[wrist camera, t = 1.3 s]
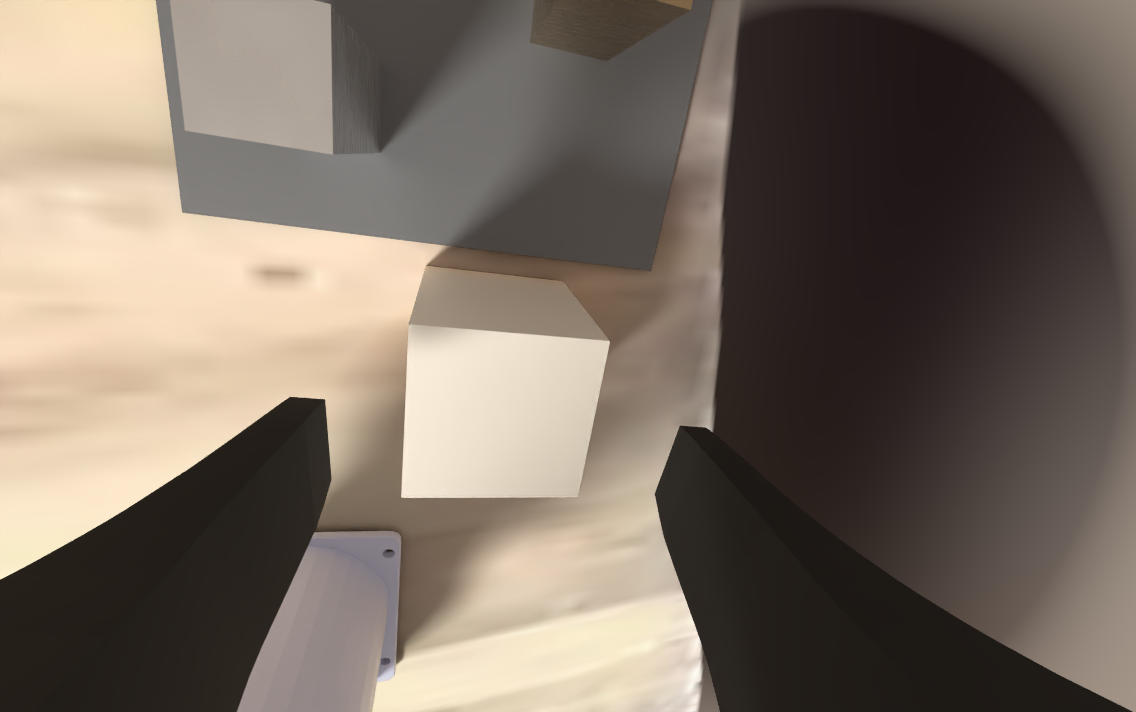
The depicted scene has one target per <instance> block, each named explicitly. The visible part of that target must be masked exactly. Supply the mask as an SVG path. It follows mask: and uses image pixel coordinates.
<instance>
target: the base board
mask: <svg viewBox="0 0 1136 712" xmlns="http://www.w3.org/2000/svg"><path fill="white" fill-rule="evenodd" d="M315 1H319V2H323V3H328V4H331V5H332V6H333V7H334V8H335V10H336V11H337V12H338V13H339V14H340V15H341V16H342V18H343V19H344V20H345V21H346V22H347V23H348V24H349V25H350V27H351V28H352V29H353V30H354V31H355V32H356V33H357V35H358V36H359V37H360V38H361V39H362V40H363V41H364V42H365V44H366V45H367V46H368V47H369V48H370V49H371V50H372V52H373V53H374V54H375V55H376V56H377V57H378V58H379V60H380V61H381V62H382V69H381V123H380V153H368V154H335V155H333V154H326V153H320V152H314V151H308V150H302V149H295V148H289V147H283V146H277V145H271V144H265V143H258V142H252V141H246V140H240V139H234V138H227V137H221V136H215V135H209V134H203V133H197V132H190V131H185V127H184V118H183V110H182V101H181V92H180V84H179V75H178V67H177V58H176V49H175V41H174V32H173V23H172V15H171V6H170V0H156V5H157V13H158V21H159V29H160V37H161V45H162V53H163V61H164V69H165V77H166V85H167V93H168V101H169V109H170V117H171V125H172V133H173V141H174V149H175V157H176V165H177V173H178V181H179V189H180V197H181V205H182V212H183V213H191V214H199V215H207V216H215V217H223V218H231V219H239V220H247V221H255V222H263V223H271V224H279V225H287V226H295V227H302V228H310V229H318V230H326V231H334V232H342V233H350V234H358V235H366V236H374V237H382V238H390V239H398V240H406V241H414V242H422V243H430V244H438V245H446V246H454V247H462V248H470V249H478V250H486V251H494V252H502V253H510V254H518V255H526V256H534V257H542V258H550V259H558V260H566V261H574V262H582V263H590V264H598V265H606V266H614V267H622V268H630V269H638V270H646V271H651V270H652V265H653V261H654V256H655V252H656V248H657V243H658V239H659V234H660V230H661V225H662V221H663V217H664V212H665V208H666V203H667V199H668V195H669V190H670V186H671V181H672V177H673V172H674V168H675V164H676V159H677V155H678V150H679V146H680V141H681V137H682V133H683V128H684V124H685V119H686V115H687V111H688V106H689V102H690V97H691V93H692V88H693V84H694V80H695V75H696V71H697V66H698V62H699V57H700V53H701V49H702V44H703V40H704V35H705V31H706V27H707V22H708V18H709V13H710V9H711V4H712V0H693V3H692V7H691V10H690V11H689V12H687V13H685V14H684V15H682V16H680V17H679V18H677V19H675V20H674V21H672V22H670V23H669V24H667V25H666V26H664V27H662V28H661V29H659V30H657V31H656V32H654V33H652V34H651V35H649V36H647V37H646V38H644V39H643V40H641V41H639V42H638V43H636V44H634V45H633V46H631V47H629V48H628V49H626V50H624V51H623V52H621V53H620V54H618V55H616V56H615V57H613V58H611V59H610V60H608V61H604V60H600V59H596V58H592V57H588V56H583V55H579V54H575V53H571V52H566V51H562V50H558V49H554V48H550V47H545V46H541V45H537V44H533V43H530V35H531V27H532V18H533V9H534V0H315Z"/></svg>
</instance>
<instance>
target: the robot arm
mask: <svg viewBox="0 0 1136 712" xmlns="http://www.w3.org/2000/svg"><path fill="white" fill-rule="evenodd" d="M330 482H331V468H330V456H329V443H328V431H327V418H326V406H325V399H311V398H298V397H289V398H288V399H286V400H285V401H284V402H282V403H281V404H279V405H278V406H276V407H275V408H274V409H272V410H271V411H270V412H268V413H267V414H265V415H264V416H263V417H261V418H260V419H258V420H257V421H256V422H254V423H253V424H252V425H250V426H249V427H247V428H246V429H245V430H243V431H242V432H241V433H239V434H238V435H236V436H235V437H234V438H232V439H231V440H230V441H228V442H227V443H225V444H224V445H222V446H221V447H220V448H218V449H217V450H215V451H214V452H212V453H211V454H210V455H208V456H207V457H205V458H204V459H202V460H201V461H200V462H198V463H197V464H195V465H194V466H192V467H191V468H190V469H188V470H187V471H185V472H183V473H182V474H180V475H179V476H177V477H176V478H174V479H173V480H171V481H169V482H168V483H166V484H165V485H163V486H162V487H160V488H159V489H157V490H155V491H154V492H152V493H151V494H149V495H148V496H146V497H145V498H143V499H141V500H140V501H138V502H137V503H135V504H134V505H132V506H131V507H129V508H128V509H126V510H124V511H123V512H121V513H119V514H118V515H116V516H114V517H113V518H111V519H109V520H108V521H106V522H104V523H103V524H101V525H99V526H97V527H96V528H94V529H92V530H91V531H89V532H87V533H85V534H84V535H82V536H80V537H78V538H77V539H75V540H73V541H71V542H69V543H68V544H66V545H64V546H62V547H60V548H59V549H57V550H55V551H53V552H51V553H50V554H48V555H46V556H44V557H42V558H41V559H39V560H37V561H35V562H33V563H31V564H30V565H28V566H26V567H24V568H22V569H20V570H18V571H16V572H15V573H13V574H11V575H9V576H7V577H5V578H3V579H1V580H0V712H372V709H373V703H374V697H375V690H376V684H377V682H380V681H387V680H389V679H391V678H392V677H393V676H394V675H395V669H396V650H397V628H398V606H399V584H400V562H401V540H402V539H401V536H400V534H399V533H397V532H395V531H352V532H315V530H316V527H317V524H318V521H319V518H320V515H321V512H322V509H323V505H324V502H325V499H326V496H327V492H328V489H329V486H330ZM655 497H656V502H657V507H658V512H659V517H660V522H661V526H662V530H663V535H664V539H665V542H666V545H667V548H668V550H669V553H670V556H671V559H672V562H673V565H674V568H675V571H676V573H677V576H678V579H679V582H680V585H681V587H682V590H683V593H684V596H685V599H686V601H687V604H688V607H689V610H690V613H691V615H692V618H693V621H694V624H695V626H696V629H697V632H698V635H699V638H700V640H701V644H702V647H703V650H704V653H705V656H706V659H707V663H708V666H709V670H710V673H711V677H712V681H713V685H714V689H715V693H716V697H717V701H718V705H719V709H720V712H1132V711H1130V710H1128V709H1126V708H1124V707H1122V706H1120V705H1118V704H1116V703H1114V702H1112V701H1110V700H1108V699H1106V698H1104V697H1102V696H1100V695H1098V694H1096V693H1094V692H1092V691H1090V690H1088V689H1086V688H1084V687H1082V686H1080V685H1078V684H1076V683H1074V682H1072V681H1070V680H1068V679H1066V678H1064V677H1062V676H1060V675H1058V674H1056V673H1054V672H1052V671H1050V670H1048V669H1047V668H1045V667H1043V666H1041V665H1039V664H1038V663H1036V662H1034V661H1032V660H1030V659H1029V658H1027V657H1025V656H1023V655H1021V654H1019V653H1018V652H1016V651H1014V650H1012V649H1010V648H1008V647H1007V646H1005V645H1003V644H1001V643H999V642H998V641H996V640H994V639H992V638H991V637H989V636H987V635H985V634H983V633H982V632H980V631H979V630H977V629H975V628H973V627H971V626H970V625H968V624H966V623H965V622H963V621H961V620H960V619H958V618H957V617H955V616H953V615H951V614H950V613H948V612H947V611H945V610H944V609H942V608H940V607H939V606H937V605H936V604H934V603H932V602H931V601H929V600H927V599H926V598H924V597H923V596H921V595H919V594H918V593H916V592H915V591H913V590H912V589H910V588H909V587H907V586H906V585H904V584H902V583H901V582H899V581H898V580H896V579H895V578H893V577H892V576H891V575H889V574H888V573H886V572H885V571H883V570H882V569H881V568H879V567H877V566H876V565H875V564H873V563H872V562H871V561H869V560H868V559H866V558H865V557H863V556H862V555H861V554H859V553H858V552H856V551H855V550H854V549H852V548H851V547H849V546H848V545H847V544H845V543H844V542H843V541H841V540H840V539H838V538H837V537H836V536H835V535H834V534H832V533H831V532H830V531H828V530H827V529H826V528H825V527H823V526H822V525H821V524H820V523H818V522H817V521H816V520H814V519H813V518H812V517H810V516H809V515H808V514H807V513H806V512H805V511H803V510H802V509H801V508H800V507H799V506H797V505H796V504H795V503H794V502H792V501H791V500H790V499H789V498H788V497H787V496H785V495H784V494H783V493H782V492H781V491H780V490H778V489H777V488H776V487H775V486H774V485H772V484H771V483H770V482H769V481H768V480H767V479H765V478H764V477H763V476H762V475H761V474H760V473H759V472H757V471H756V470H755V469H754V468H753V467H752V466H751V465H750V464H749V463H747V462H746V461H745V460H744V459H743V458H742V457H741V456H739V455H738V454H737V453H736V452H735V451H734V450H733V449H731V448H730V447H729V446H728V445H727V444H726V443H724V442H723V441H722V440H721V439H720V438H719V437H717V436H716V435H715V434H714V433H712V432H711V431H710V430H708V429H707V428H703V427H690V426H680V427H679V430H678V433H677V435H676V438H675V441H674V443H673V446H672V449H671V452H670V454H669V457H668V460H667V462H666V465H665V468H664V471H663V473H662V476H661V479H660V481H659V484H658V487H657V489H656V492H655ZM388 549H390V550H393V551H391V552H388V551H385V550H388Z"/></svg>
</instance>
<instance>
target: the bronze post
mask: <svg viewBox="0 0 1136 712" xmlns="http://www.w3.org/2000/svg"><path fill="white" fill-rule="evenodd" d="M692 3H693V0H534V9H533V18H532V27H531V35H530V43H533V44H537V45H541V46H545V47H550V48H554V49H558V50H562V51H566V52H571V53H575V54H579V55H583V56H588V57H592V58H596V59H600V60H604V61H608V60H610V59H611V58H613V57H615V56H616V55H618V54H620V53H621V52H623V51H624V50H626V49H628V48H629V47H631V46H633V45H634V44H636V43H638V42H639V41H641V40H643V39H644V38H646V37H647V36H649V35H651V34H652V33H654V32H656V31H657V30H659V29H661V28H662V27H664V26H666V25H667V24H669V23H670V22H672V21H674V20H675V19H677V18H679V17H680V16H682V15H684V14H685V13H687V12H689V11H690V10H691V7H692Z"/></svg>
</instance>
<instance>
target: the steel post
mask: <svg viewBox="0 0 1136 712" xmlns="http://www.w3.org/2000/svg"><path fill="white" fill-rule="evenodd" d="M170 6H171V15H172V23H173V32H174V41H175V49H176V58H177V67H178V75H179V84H180V92H181V101H182V110H183V118H184V127H185V131H190V132H197V133H203V134H209V135H215V136H221V137H227V138H234V139H240V140H246V141H252V142H258V143H265V144H271V145H277V146H283V147H289V148H295V149H302V150H308V151H314V152H320V153H326V154H333V155H335V154H368V153H380V123H381V69H382V62H381V61H380V60H379V58H378V57H377V56H376V55H375V54H374V53H373V52H372V50H371V49H370V48H369V47H368V46H367V45H366V44H365V42H364V41H363V40H362V39H361V38H360V37H359V36H358V35H357V33H356V32H355V31H354V30H353V29H352V28H351V27H350V25H349V24H348V23H347V22H346V21H345V20H344V19H343V18H342V16H341V15H340V14H339V13H338V12H337V11H336V10H335V8H334V7H333V6H332V5H331V4H328V3H323V2H319V1H315V0H170Z"/></svg>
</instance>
